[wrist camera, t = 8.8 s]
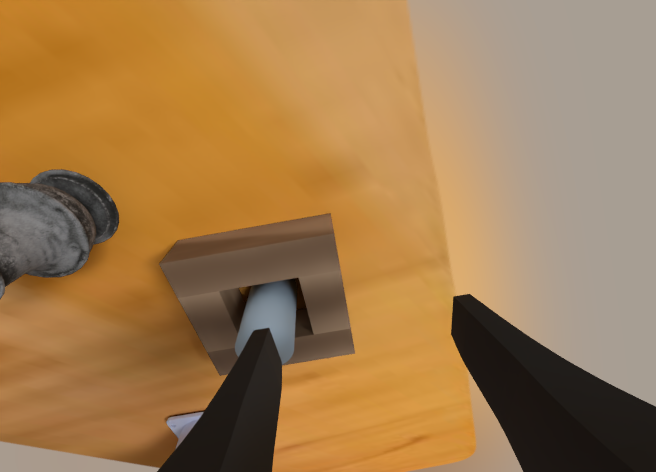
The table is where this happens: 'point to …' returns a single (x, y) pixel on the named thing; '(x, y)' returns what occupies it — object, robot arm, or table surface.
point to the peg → (271, 315)
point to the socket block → (258, 268)
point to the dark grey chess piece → (52, 224)
